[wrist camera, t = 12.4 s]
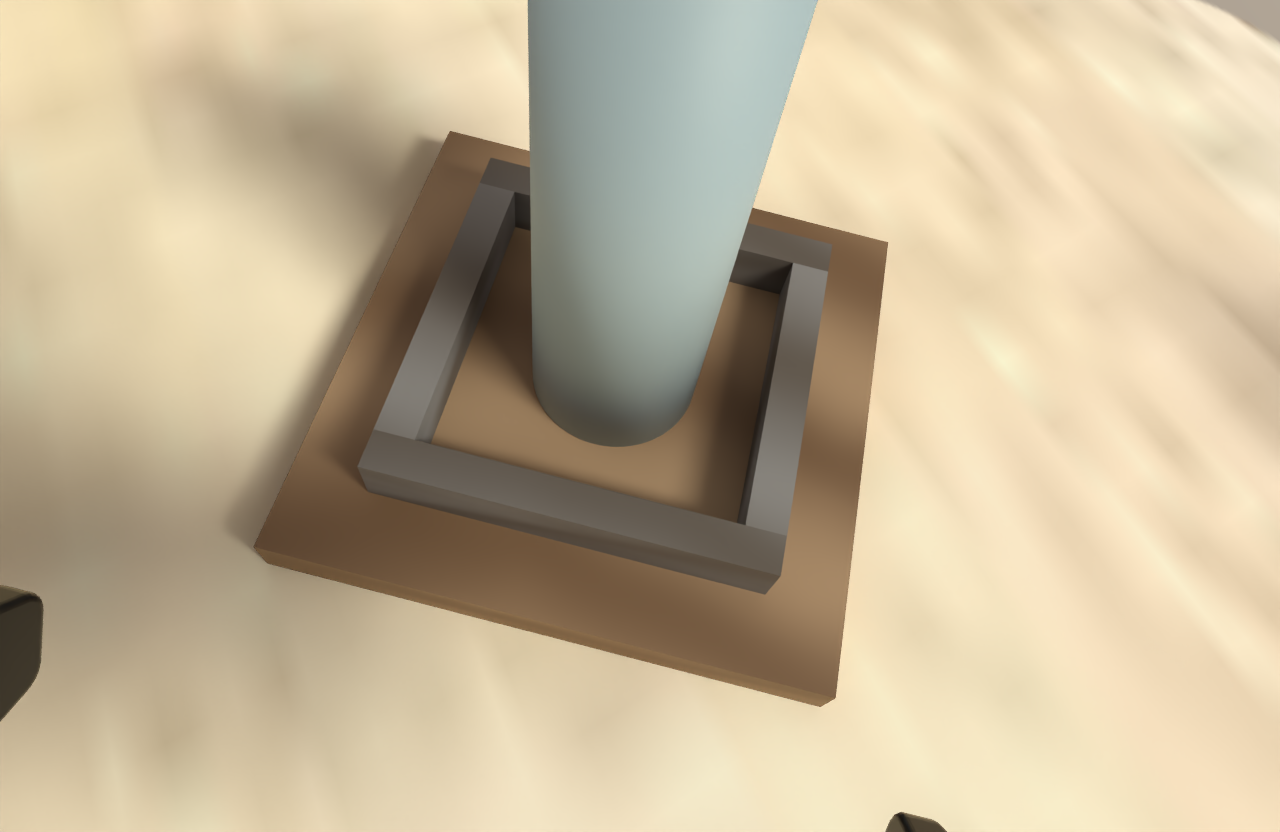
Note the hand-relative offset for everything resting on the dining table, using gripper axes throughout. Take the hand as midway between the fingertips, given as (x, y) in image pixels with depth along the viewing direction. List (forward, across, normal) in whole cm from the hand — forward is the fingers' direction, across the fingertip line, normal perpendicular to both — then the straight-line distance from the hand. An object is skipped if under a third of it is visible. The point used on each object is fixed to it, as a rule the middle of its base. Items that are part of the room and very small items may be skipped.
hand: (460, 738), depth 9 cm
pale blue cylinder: (+15, 0, 0) cm, 15 cm away
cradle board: (+16, 0, 0) cm, 16 cm away
